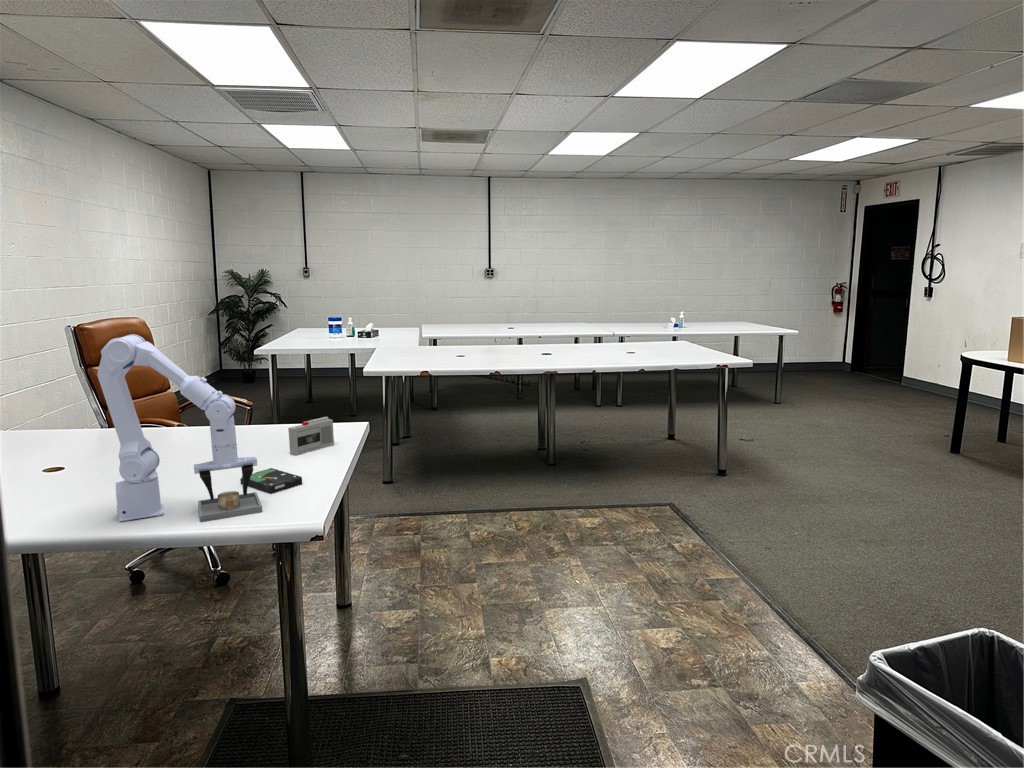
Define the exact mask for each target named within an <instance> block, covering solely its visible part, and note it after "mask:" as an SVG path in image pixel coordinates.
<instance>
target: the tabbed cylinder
mask: <svg viewBox="0 0 1024 768" xmlns="http://www.w3.org/2000/svg"><path fill="white" fill-rule="evenodd" d="M239 495H240V492H239V491H235V490H229V491H222V492H220V493H218V495H217V498H218V506H219V508H220V509H227V511H229V510H234V508H235V507H238V506H239V505H240V499H239Z"/></svg>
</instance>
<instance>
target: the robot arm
mask: <svg viewBox="0 0 1024 768" xmlns="http://www.w3.org/2000/svg"><path fill="white" fill-rule="evenodd" d="M100 354H101V359H100V362H99V365H98V369H97V373H96V374H97V378H98V381H99V384H100V387H101V390H102V393H103V397H104V399H105V402H106V406H107V409H108V411H109V414H110V417H111V418H110V419H111V420H112V423H113V425H114V429H115V432H116V435H117V438H118V441H119V443H120V447H119V452H118V458H119V467H118V471H119V476H121V478H122V479H123V480H122V481H116V482H115V497H116V512H117V515H118V522H125V521H126V522H127V521H132V520H139V519H145V518H153V517H158V516H163V515H164V503H162V501H161V492H160V484H159V475H158V472H157V468H158V467H159V466H160V461H161V459H160V456H159V454H158V452H157V451H156V450H155V449H154V448H153V447H152V444H151V441H149V440H148V439H147V438H146V437H145V435H144V432H143V430H142V426H141V423H140V420H139V417H138V414H137V410H136V407H135V404H134V402H133V398H132V396H131V392H130V389H129V386H128V383H127V380H126V378H125V377H126V375H127V374H128V372H129V371H130V369H131V368H132V367H133V366H140V367H141V366H142V367H150V368H152V369H153V370H155V371H157V372H158V373H159V374H160V375H162V376H164V377H165V378H166V379H168V380H169V381H171V382H172V383H174V384H175V385H177V386H178V387H179V391H180V394H181V395H182V396H183V397H184V398H185V399H187V400H189V401H190V402H191V403H193V404H194V405H195V406H197V407H198V408H199V409H200V410H203V411H204V414H205V417H206V419H208V421H209V427H210V428H209V432H210V433H209V434H210V444H211V451H212V452H211V455H212V460H210V461H206V462H201V463H196V464H193V473H194V475H197V474H199V478H200V479H201V481H202V482H203V484H204V486H205V487H206V489H207V491H208V494H209V499H211V500H214V498H215V497H214V492H213V484H212V475H211V472H214V471H221V470H230V469H237V468H241V474H242V475H241V478H242V477H243V485H242V494H244V495H247V493H248V488H249V487H248V483H249V480H250V477H251V475H252V474H253V472H254V467H256V466H258V458H257V456H247V457H239V456H238V447H237V446H238V445H237V444H238V443H237V433H236V425H235V424H236V423H235V418H234V417H235V416H234V415H233V414H234V413H235V411H236V408H237V407H236V402H235V400H234V399H233V398H232V397H231V396H230V395H229V394H223V391H221V390H217V389H215V387H213V386H212V385H210V383H208V382H207V381H208V379H207V378H206V377H204V376H202V377H200V376H198V375H188V373H186V372H185V371H184V370H183V369H181V367H180V366H178V365H176V364H175V363H174V362H173V361H172V360H171V359H170V358H168V357H167V356H166V355H165V354H163V353H162V352H161V351H160V350H159V349H158V348H157V347H156V346H155V345H154V344H153V343H151V342H150V341H146V339H144V337H142V336H140V335H139V334H135V333H133V334H127V335H124V336H121V337H116V338H112V339H110V340H109V341H108V342H107V343H106V344H105V345H104V347H103V348H102V349H101V350H100Z"/></svg>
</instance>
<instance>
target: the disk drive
mask: <svg viewBox="0 0 1024 768" xmlns="http://www.w3.org/2000/svg"><path fill="white" fill-rule="evenodd" d="M239 481H240V485H241V486H243V477H242V476H241V478H240V479H239ZM298 485H299V486H302V485H303V477H302V476H300V475H296V474H293V473H290V472H286V471H283V470H280V469H276V468H273V467H270V468H267V469H262V470H259V471H257V472H256V471H255V472H254V473H252V475H251V477H250V480H249V483H248V488H251V489H254V490H257V491H260V492H263V493H265V494H270V495H273V494H276V493H278V492H282V491H285V490H288V489H289V490H290V489H292V488H296V487H299V486H298ZM295 486H296V487H295Z"/></svg>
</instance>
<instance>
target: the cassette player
mask: <svg viewBox="0 0 1024 768" xmlns="http://www.w3.org/2000/svg"><path fill="white" fill-rule="evenodd" d="M288 441H289V444H288V445H289V455H290V456H293V457H298V456H299V455H304V454H307V452H308V453H310V452H311V453H312V452H314V451H318V450H322V449H326V448H329V447H332V446H335V436H334V421H333V419H330V418H329V417H328V416H323V417H320V418H315V419H309V420H307V421H302V422H301V424H299V425H295V426H290V427H288Z"/></svg>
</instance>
